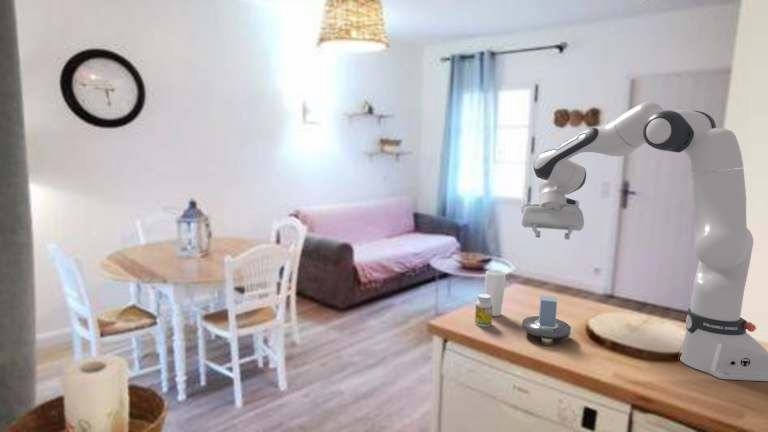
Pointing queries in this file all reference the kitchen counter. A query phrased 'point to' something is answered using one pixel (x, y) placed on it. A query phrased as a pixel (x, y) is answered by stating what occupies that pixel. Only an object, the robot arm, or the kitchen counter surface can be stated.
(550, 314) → the block
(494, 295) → the drinking glass
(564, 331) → the stand
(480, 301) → the supplement bottle
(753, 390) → the kitchen counter surface
